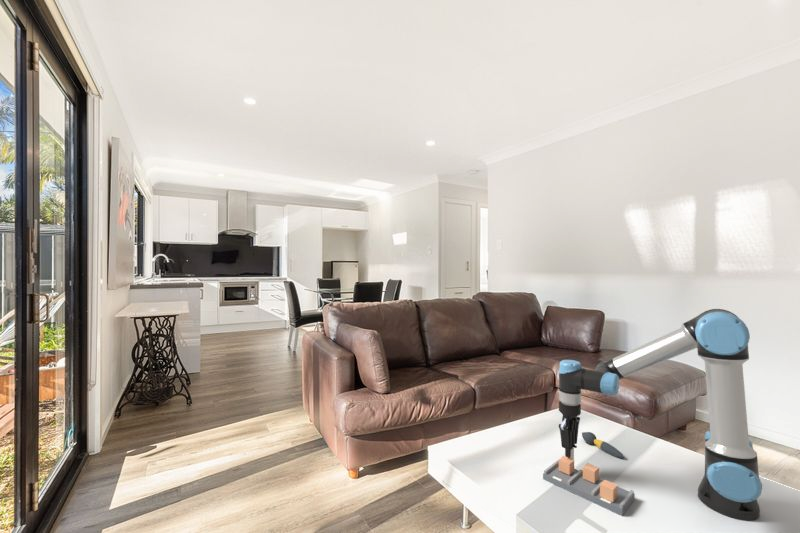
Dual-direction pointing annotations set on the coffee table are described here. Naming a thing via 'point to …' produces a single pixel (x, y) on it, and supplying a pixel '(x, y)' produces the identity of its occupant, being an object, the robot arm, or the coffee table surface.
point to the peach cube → (590, 473)
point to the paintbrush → (601, 444)
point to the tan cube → (566, 465)
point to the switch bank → (588, 488)
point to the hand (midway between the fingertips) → (569, 464)
